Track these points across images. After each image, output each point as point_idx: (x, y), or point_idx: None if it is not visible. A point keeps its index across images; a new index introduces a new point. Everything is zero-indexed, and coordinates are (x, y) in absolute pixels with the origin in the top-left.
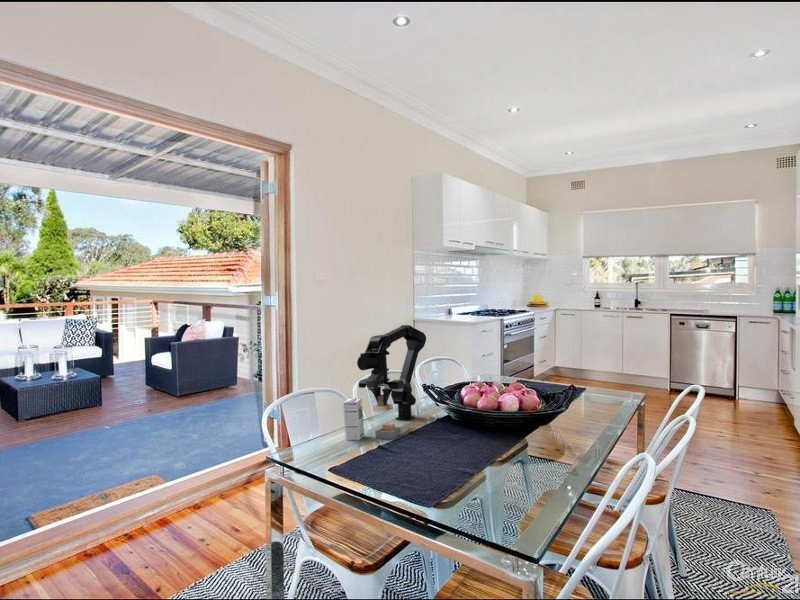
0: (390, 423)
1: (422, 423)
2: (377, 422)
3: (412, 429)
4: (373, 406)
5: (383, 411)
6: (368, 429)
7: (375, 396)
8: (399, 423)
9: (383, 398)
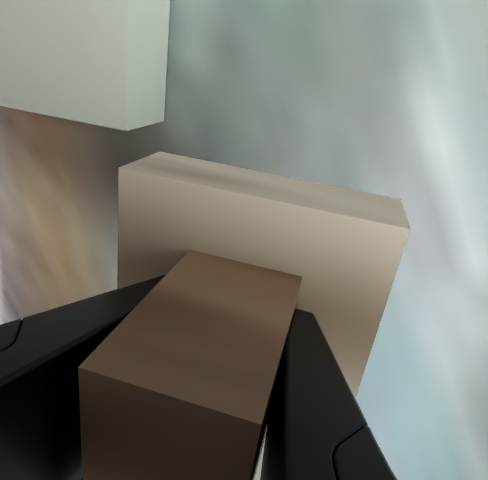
0: (106, 10)
1: (25, 287)
2: (400, 322)
3: (6, 115)
4: (390, 226)
5: (194, 159)
6: (428, 46)
7: (343, 431)
8: (16, 32)
9: (117, 345)
